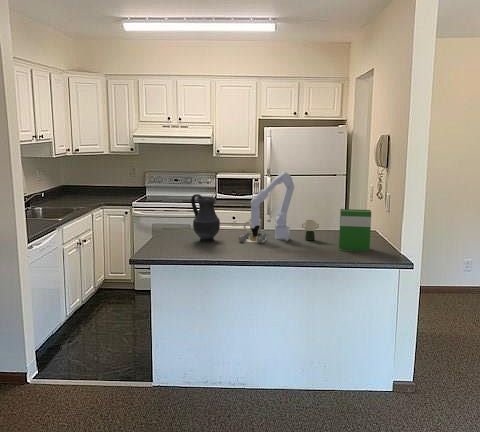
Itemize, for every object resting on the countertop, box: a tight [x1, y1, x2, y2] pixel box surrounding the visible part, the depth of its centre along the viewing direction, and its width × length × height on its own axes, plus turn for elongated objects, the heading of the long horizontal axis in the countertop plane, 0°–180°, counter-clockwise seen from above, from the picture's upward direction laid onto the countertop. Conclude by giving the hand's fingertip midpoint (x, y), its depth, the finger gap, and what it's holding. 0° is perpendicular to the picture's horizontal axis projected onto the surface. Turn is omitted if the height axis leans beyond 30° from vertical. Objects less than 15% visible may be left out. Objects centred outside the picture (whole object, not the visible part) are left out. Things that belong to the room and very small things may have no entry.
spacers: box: [238, 232, 266, 245], centre depth 321 cm, size 15×14×4 cm
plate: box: [243, 237, 267, 244], centre depth 321 cm, size 15×16×1 cm
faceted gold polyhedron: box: [249, 235, 258, 241], centre depth 322 cm, size 4×5×2 cm
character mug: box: [301, 219, 320, 241], centre depth 326 cm, size 11×7×13 cm, turn 83°
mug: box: [243, 218, 262, 235], centre depth 345 cm, size 8×13×10 cm, turn 81°
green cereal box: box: [338, 208, 372, 252], centre depth 300 cm, size 18×7×24 cm, turn 80°
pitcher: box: [190, 193, 221, 243], centre depth 322 cm, size 17×21×30 cm
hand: (255, 236), depth 328 cm, fingers closed
